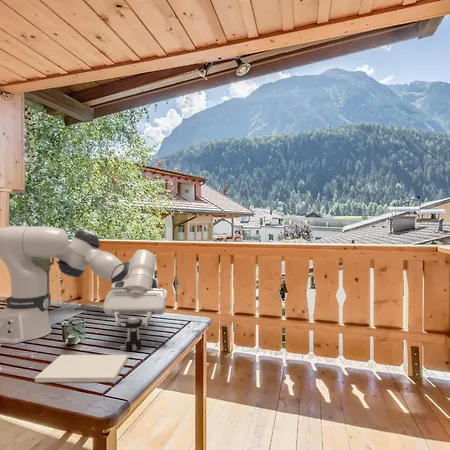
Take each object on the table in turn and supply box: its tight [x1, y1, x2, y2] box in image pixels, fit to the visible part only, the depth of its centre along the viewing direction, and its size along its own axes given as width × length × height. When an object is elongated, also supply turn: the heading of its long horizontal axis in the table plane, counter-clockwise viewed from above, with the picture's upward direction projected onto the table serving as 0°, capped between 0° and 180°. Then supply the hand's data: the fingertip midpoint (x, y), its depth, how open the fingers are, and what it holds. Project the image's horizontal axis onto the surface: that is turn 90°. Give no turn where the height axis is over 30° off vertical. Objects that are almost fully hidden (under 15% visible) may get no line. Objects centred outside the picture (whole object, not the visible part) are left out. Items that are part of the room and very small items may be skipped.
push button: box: [120, 316, 142, 352], centre depth 105 cm, size 7×5×10 cm
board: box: [34, 354, 129, 383], centre depth 90 cm, size 20×14×1 cm
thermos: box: [31, 257, 55, 309], centre depth 152 cm, size 9×12×35 cm
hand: (131, 325), depth 104 cm, fingers open, 7 cm apart
